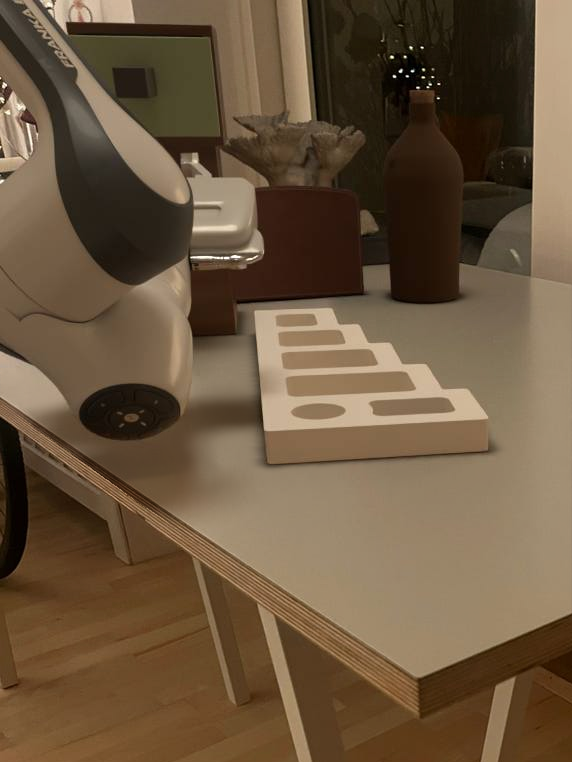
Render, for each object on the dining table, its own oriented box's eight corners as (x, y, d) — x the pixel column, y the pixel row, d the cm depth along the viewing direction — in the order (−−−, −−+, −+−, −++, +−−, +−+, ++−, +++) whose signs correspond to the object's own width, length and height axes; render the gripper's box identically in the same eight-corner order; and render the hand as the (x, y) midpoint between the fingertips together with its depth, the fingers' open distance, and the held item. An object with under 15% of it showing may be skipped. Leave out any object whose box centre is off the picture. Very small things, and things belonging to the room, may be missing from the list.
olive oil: (446, 307, 131) (445, 91, 119) (374, 300, 134) (365, 90, 122) (473, 292, 140) (475, 90, 127) (405, 286, 143) (400, 89, 130)
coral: (238, 273, 151) (220, 114, 140) (212, 253, 167) (195, 109, 156) (392, 263, 160) (387, 113, 149) (354, 245, 176) (347, 109, 165)
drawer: (217, 142, 90) (205, 34, 86) (58, 142, 88) (38, 31, 84) (223, 129, 110) (214, 41, 106) (93, 129, 107) (78, 38, 103)
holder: (256, 334, 116) (254, 310, 115) (407, 328, 120) (407, 305, 118) (267, 464, 78) (264, 431, 77) (489, 450, 82) (489, 418, 80)
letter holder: (365, 294, 138) (360, 184, 131) (221, 304, 131) (208, 188, 124) (344, 282, 146) (338, 177, 139) (208, 291, 139) (195, 180, 132)
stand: (244, 337, 115) (211, 24, 99) (119, 342, 112) (65, 21, 97) (245, 312, 127) (216, 29, 111) (132, 316, 124) (85, 26, 109)
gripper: (262, 233, 78) (253, 126, 84) (-15, 236, 74) (-2, 124, 81) (268, 297, 83) (259, 191, 90) (10, 303, 80) (20, 192, 86)
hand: (134, 159), depth 85 cm, fingers open, 8 cm apart
